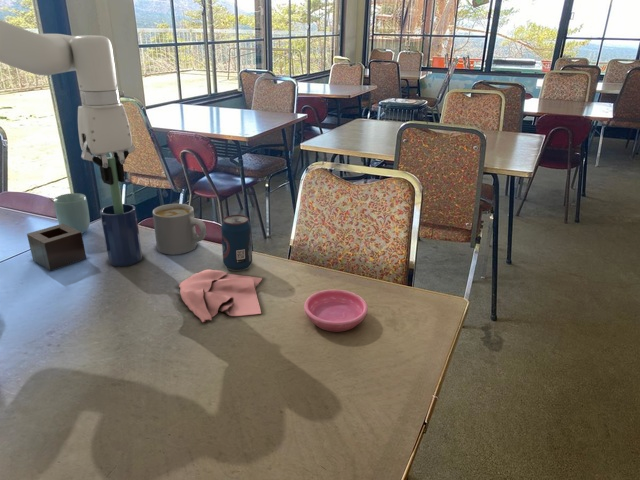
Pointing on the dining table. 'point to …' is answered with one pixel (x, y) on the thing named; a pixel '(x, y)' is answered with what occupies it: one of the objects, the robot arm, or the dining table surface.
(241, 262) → the soda can
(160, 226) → the coffee mug
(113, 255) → the tumbler
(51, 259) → the stand
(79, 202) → the cup
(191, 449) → the dining table surface
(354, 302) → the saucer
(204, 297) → the cloth
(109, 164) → the brush
